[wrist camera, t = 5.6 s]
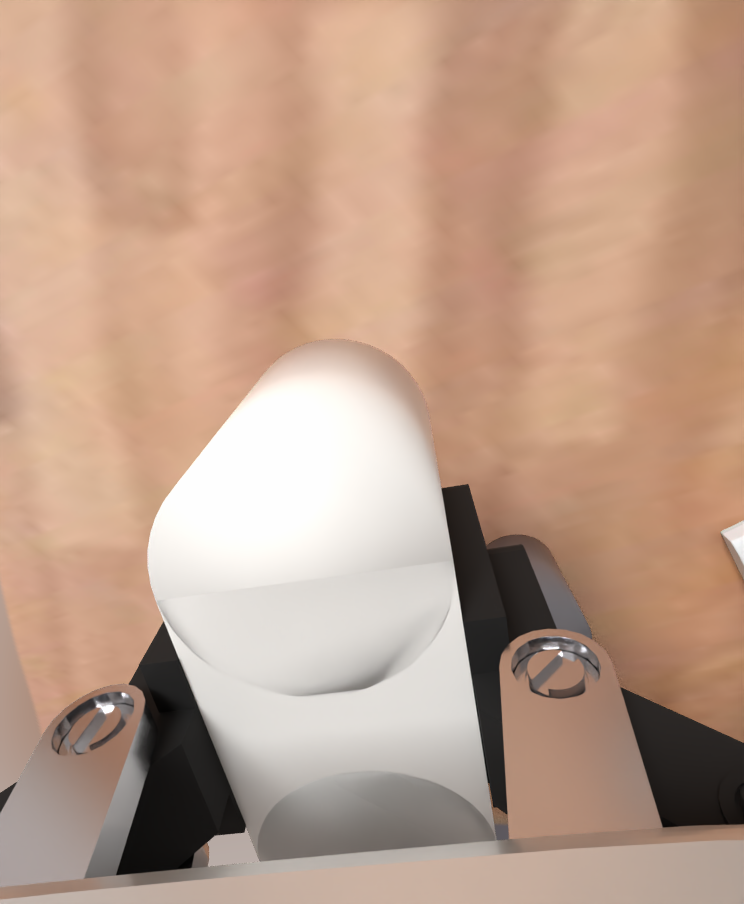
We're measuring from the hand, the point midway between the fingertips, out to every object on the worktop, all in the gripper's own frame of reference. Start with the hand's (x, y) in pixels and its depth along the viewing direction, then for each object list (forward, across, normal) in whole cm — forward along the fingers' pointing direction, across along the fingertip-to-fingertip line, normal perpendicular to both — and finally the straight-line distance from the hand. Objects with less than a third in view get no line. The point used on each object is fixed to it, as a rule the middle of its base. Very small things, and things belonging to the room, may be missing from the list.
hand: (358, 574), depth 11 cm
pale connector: (+1, 0, 0) cm, 1 cm away
